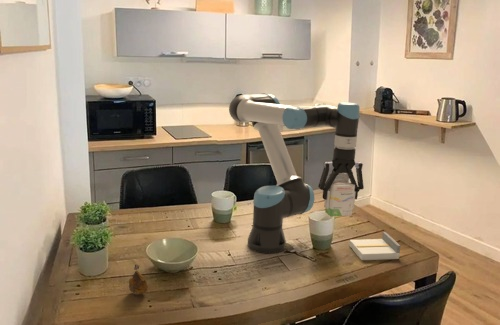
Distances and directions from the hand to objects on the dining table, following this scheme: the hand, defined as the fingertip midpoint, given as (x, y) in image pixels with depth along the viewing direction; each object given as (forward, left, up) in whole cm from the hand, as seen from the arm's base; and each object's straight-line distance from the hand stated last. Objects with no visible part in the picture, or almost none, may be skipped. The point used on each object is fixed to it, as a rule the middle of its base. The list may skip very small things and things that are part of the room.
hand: (339, 207), depth 171 cm
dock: (+18, +6, -21) cm, 28 cm away
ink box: (0, 0, -3) cm, 3 cm away
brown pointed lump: (-71, -17, -21) cm, 76 cm away
